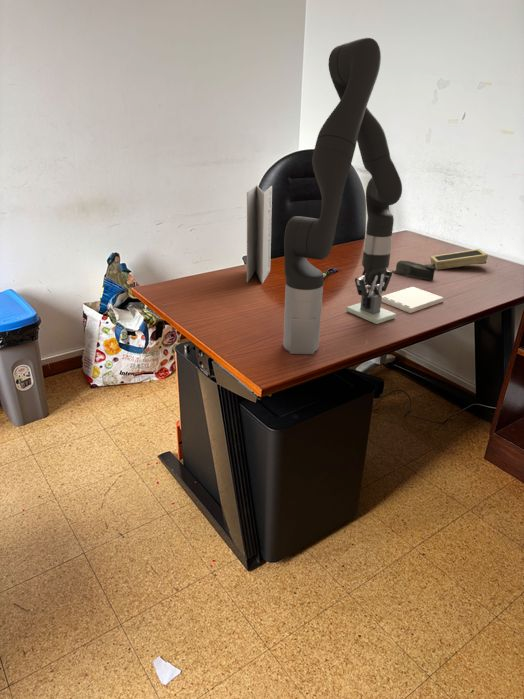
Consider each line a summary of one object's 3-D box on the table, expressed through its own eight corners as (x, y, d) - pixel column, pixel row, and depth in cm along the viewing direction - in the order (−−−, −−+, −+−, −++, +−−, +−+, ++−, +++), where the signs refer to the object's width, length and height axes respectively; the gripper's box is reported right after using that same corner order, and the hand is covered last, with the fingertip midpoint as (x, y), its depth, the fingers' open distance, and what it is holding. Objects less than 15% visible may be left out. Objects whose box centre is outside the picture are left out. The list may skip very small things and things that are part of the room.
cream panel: (412, 290, 175) (412, 286, 174) (442, 301, 167) (443, 297, 166) (379, 301, 166) (380, 296, 166) (410, 313, 158) (410, 308, 157)
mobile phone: (436, 266, 185) (395, 257, 192) (433, 268, 182) (392, 259, 189) (433, 279, 187) (393, 270, 194) (431, 282, 185) (390, 272, 192)
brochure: (262, 283, 179) (263, 193, 165) (246, 282, 180) (246, 192, 166) (270, 270, 191) (272, 185, 178) (255, 269, 192) (256, 185, 179)
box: (488, 267, 195) (488, 254, 193) (427, 276, 196) (427, 263, 194) (479, 260, 202) (479, 248, 200) (420, 270, 203) (420, 257, 201)
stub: (364, 305, 163) (366, 285, 160) (395, 317, 154) (398, 297, 151) (346, 310, 158) (348, 291, 155) (376, 324, 150) (379, 303, 147)
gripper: (383, 243, 153) (376, 298, 161) (349, 250, 146) (344, 308, 154) (404, 249, 148) (396, 306, 156) (369, 257, 141) (363, 316, 148)
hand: (370, 306), depth 155 cm, fingers closed on stub, 3 cm apart
